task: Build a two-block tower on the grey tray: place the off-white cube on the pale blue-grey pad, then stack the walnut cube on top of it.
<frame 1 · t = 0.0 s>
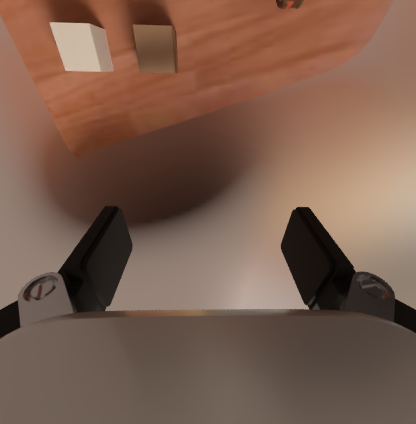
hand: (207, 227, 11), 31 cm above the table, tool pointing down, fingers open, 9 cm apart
off-white block: (93, 50, 30), on the table
walnut block: (161, 52, 31), on the table
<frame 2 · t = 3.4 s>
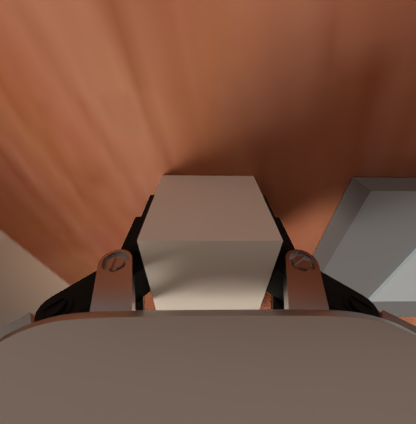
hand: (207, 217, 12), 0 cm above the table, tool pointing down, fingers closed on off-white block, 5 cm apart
off-white block: (207, 212, 12), on the table, touching gripper
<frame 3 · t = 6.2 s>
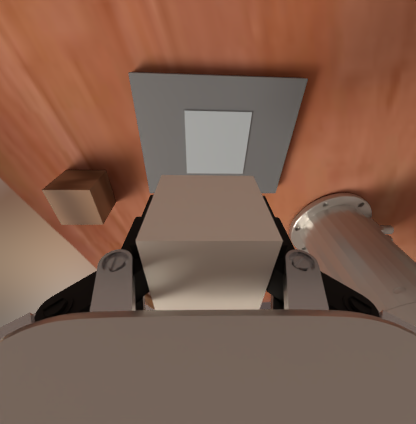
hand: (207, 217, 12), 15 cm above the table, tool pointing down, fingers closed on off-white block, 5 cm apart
off-white block: (206, 212, 12), point 14 cm above the table, touching gripper
walnut block: (92, 186, 27), on the table
grey tray: (215, 140, 24), on the table
when the fingers open (3 cm above the table, at t = 9.2 s): off-white block stays where it is, resting on grey tray.
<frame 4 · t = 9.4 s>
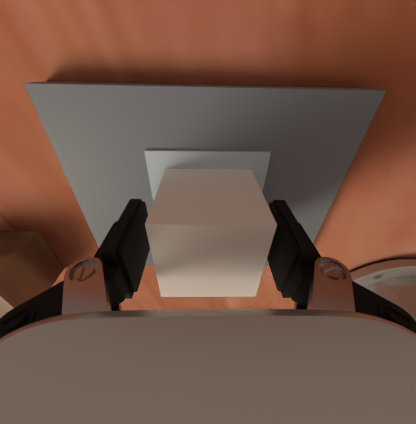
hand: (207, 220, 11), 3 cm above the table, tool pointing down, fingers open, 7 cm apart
off-white block: (208, 204, 13), point 2 cm above the table, touching grey tray
walnut block: (25, 250, 18), on the table
grey tray: (206, 191, 14), on the table
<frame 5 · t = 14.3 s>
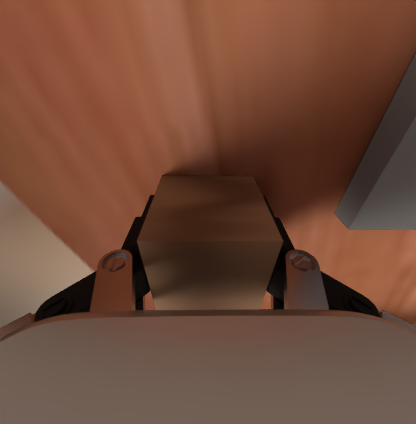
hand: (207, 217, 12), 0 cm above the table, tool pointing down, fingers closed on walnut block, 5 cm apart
walnut block: (207, 212, 12), on the table, touching gripper
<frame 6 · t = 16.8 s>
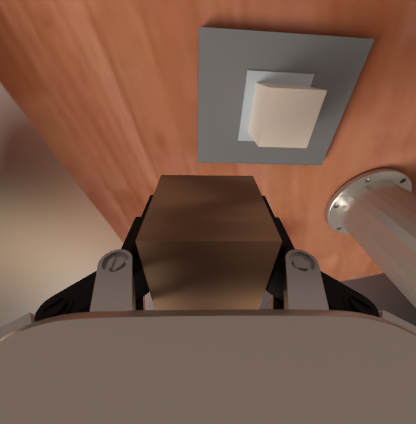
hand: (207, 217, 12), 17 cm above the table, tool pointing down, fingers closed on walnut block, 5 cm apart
off-white block: (273, 110, 22), point 2 cm above the table, touching grey tray
walnut block: (206, 212, 12), point 16 cm above the table, touching gripper
grey tray: (268, 107, 23), on the table
when the fingers open (8 cm above the table, at t = 19.5 s): walnut block stays where it is, resting on off-white block.
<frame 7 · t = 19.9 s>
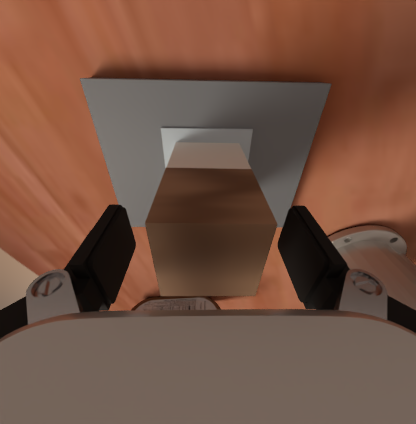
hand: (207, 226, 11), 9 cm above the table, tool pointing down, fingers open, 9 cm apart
off-white block: (207, 171, 17), point 2 cm above the table, touching grey tray, walnut block
walnut block: (207, 203, 13), point 7 cm above the table, touching off-white block
tin: (177, 297, 32), on the table
grey tray: (206, 163, 18), on the table
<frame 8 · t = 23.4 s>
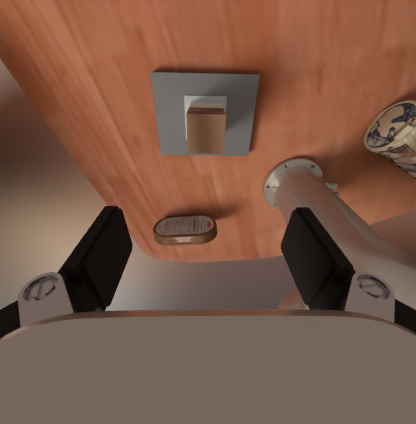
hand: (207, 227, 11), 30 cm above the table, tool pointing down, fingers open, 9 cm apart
pencil case: (399, 144, 39), on the table
off-white block: (205, 119, 34), point 2 cm above the table, touching grey tray, walnut block
walnut block: (205, 125, 30), point 7 cm above the table, touching off-white block
tin: (186, 217, 49), on the table
grey tray: (205, 117, 35), on the table
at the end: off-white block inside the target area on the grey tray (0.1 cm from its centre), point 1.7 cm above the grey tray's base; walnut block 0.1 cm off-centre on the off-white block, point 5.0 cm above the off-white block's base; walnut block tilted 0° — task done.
